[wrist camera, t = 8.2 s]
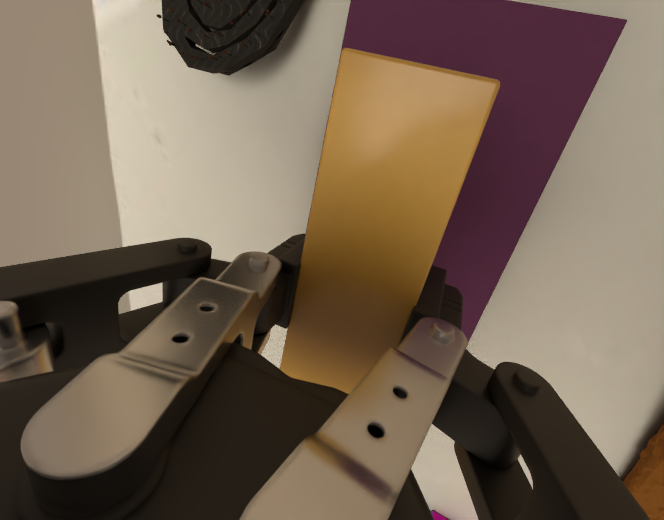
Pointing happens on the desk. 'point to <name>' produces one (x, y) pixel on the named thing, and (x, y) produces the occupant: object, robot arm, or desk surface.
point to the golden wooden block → (379, 209)
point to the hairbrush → (226, 30)
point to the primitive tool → (649, 478)
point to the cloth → (495, 111)
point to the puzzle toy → (437, 516)
